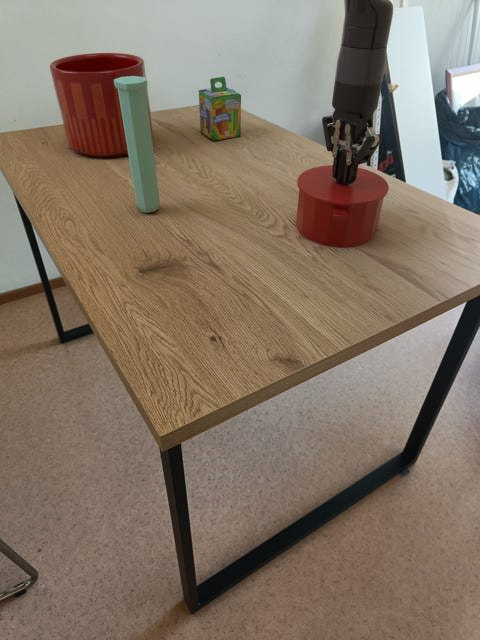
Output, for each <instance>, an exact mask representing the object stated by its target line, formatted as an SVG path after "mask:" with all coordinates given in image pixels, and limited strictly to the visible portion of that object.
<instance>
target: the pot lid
mask: <svg viewBox="0 0 480 640" xmlns="http://www.w3.org/2000/svg"><path fill="white" fill-rule="evenodd" d="M353 157H355V152H354V153H353ZM346 158H347V151H342V152H340V158H339V165H338V171H337V178H336V179H335V178H333V177H332V175H333V174H332V168H333V164H331V165H321V166H316V167H315V166H314V167H312V168H309V169H306V170H304V171H302V172H301V173H300V174H299V175H298V177H297V179H296V185H297V188H298V190H299V189H300V190H301V192H303V193H304V194H305V195H307V196H309V197H311V198H313V199H315V200H318V201H321V202H325V203H330V204H335V205H348V206H351V205H364V204H370V203H373V202H376V201H379V200H381V199H382V198H384V199H385V197H386V196H387V194H388V193H389V190H390V188H389V187H390V186H389V183H388V182H387V180H386V179H385V178H384V177H382V176H381V175H380V174H378V173H376V172H374V171H371V170H369V169H365V168H362V167H358V170H357V176H356V180H355V181H354V182H353V183H352V184H348V185H346V184H344V183H343V177H344V170H345V164H347V163H346Z"/></svg>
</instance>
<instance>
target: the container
mask: <svg viewBox="0 0 480 640" xmlns="http://www.w3.org/2000/svg"><path fill="white" fill-rule="evenodd" d="M114 84H115V87H116V88H118V93H119V99H120V106H121V112H122V118H123V124H124V130H125V136H126V143H127V149H128V155H127V156H128V160H129V167H130V173H131V180H132V184H133V186H132V187H133V191H134V197H135V205H136V206H137V209H138V210H139V211H140V212H143V213H147V214H148V213H154V212H156V211H157V210H158V209H159V208H160V205H161V201H160V193H159V185H158V179H157V177H158V176H157V171H156V170H157V169H156V161H155V154H154V145H153V140H152V137H151V129H150V121H149V113H148V105H147V97H146V89H145V86H147V87H148V86H149V85H148V79H147V77H146V78H145V77H139V76H127V77H120V78H117V79H114Z"/></svg>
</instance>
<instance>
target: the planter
mask: <svg viewBox="0 0 480 640" xmlns="http://www.w3.org/2000/svg"><path fill="white" fill-rule="evenodd" d="M49 70H50V75H51V79H52V83H53V87H54V88H53V89H54V92H55V96H56V100H57V104H58V107H59V113H60V117H61V121H62V125H63V129H64V132H65V137H66V141H67V144H68V146H69V148H70V149H71V150H72V151H74V152H76V153H78V154H81V155H83V156H88V157H92V158H93V157H94V158H115V157H116V158H117V157H123V156H129V155H128V149H127V143H126V136H125V130H124V124H123V118H122V112H121V106H120V99H119V93H118V88H116V87H115V84H114V79H117V78H120V77H127V76H139V77H145V78H146V79H147V73H146V66H145V60H144V59H143V58H142V57H141V56H138V55H135V54H129V53H120V52H119V53H118V52H94V53H82V54H75V55H69V56H64V57H61V58H58V59H55V60H54V61H52V62H50V64H49ZM148 88H149V87H148V86H145V89H146V97H147V105H148V113H149V121H150V129H151V137H152V141H153V140H154V129H153V122H152V115H151V114H152V113H151V106H150V105H151V104H150V97H149V89H148Z"/></svg>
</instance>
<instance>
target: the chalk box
mask: <svg viewBox="0 0 480 640" xmlns="http://www.w3.org/2000/svg"><path fill="white" fill-rule="evenodd" d="M226 81H227V80H226V77H225V76H219V77H218V76H217V77H211V78H210V79H209V82H210V83H209V85H210V88H204V89H199V90H198V103H199V104H198V105H199V106H198V107H199V108H198V109H199V124H200V133H201V134H202V135H204V136H205V137H207V138H209V140H211V141H213V142H215V141H221V140H227V139H235V138H241V137H242V136H241V135H242V134H241V133H242V131H241V129H242V128H241V127H242V122H241V121H242V94H240V93H239V92H237V91H236V90H235V89H232V88H229V87H227V82H226ZM217 83H220V84H221V86H219V87H216V84H217Z"/></svg>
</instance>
